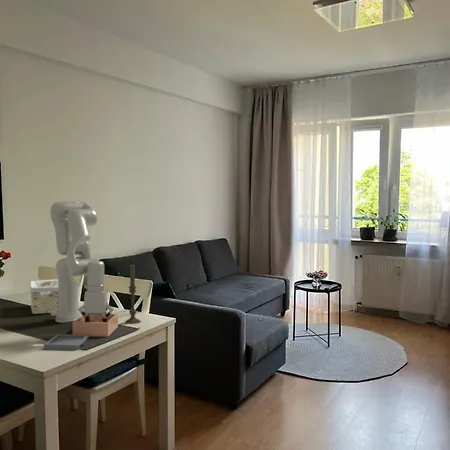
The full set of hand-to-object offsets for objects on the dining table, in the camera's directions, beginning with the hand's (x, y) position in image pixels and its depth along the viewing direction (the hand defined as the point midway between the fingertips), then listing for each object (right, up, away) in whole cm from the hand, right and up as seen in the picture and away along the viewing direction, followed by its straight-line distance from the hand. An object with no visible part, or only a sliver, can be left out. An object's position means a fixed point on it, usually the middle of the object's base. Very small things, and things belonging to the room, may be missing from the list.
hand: (96, 325), depth 217 cm
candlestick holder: (+14, -3, +17) cm, 22 cm away
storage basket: (-40, 0, +44) cm, 60 cm away
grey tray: (-8, -4, -16) cm, 19 cm away
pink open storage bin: (0, -3, 0) cm, 3 cm away
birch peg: (0, -2, 0) cm, 2 cm away
